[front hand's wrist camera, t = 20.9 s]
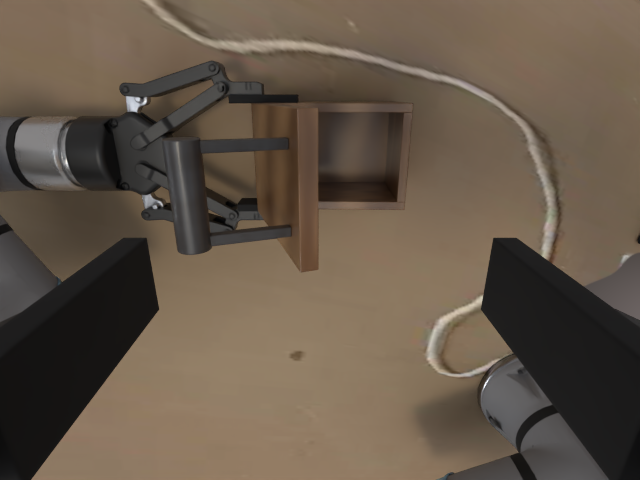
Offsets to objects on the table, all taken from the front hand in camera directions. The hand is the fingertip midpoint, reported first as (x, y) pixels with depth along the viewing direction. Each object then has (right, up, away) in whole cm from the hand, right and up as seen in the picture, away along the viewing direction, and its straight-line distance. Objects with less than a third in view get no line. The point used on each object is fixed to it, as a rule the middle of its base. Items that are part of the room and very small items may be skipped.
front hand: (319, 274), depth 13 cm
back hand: (-2, +10, +26) cm, 28 cm away
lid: (-3, +6, +17) cm, 18 cm away
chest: (+2, +13, +33) cm, 35 cm away
